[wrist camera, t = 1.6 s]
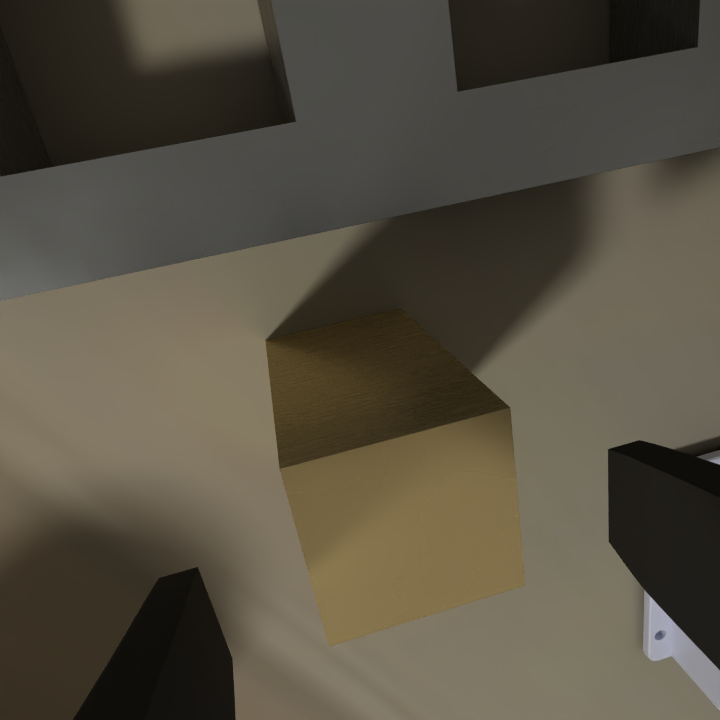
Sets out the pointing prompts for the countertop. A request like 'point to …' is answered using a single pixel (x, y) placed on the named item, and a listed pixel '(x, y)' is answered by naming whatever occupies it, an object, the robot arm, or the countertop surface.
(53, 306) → the countertop surface
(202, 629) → the robot arm
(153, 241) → the rail
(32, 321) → the countertop surface
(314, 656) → the countertop surface
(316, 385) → the brass peg
